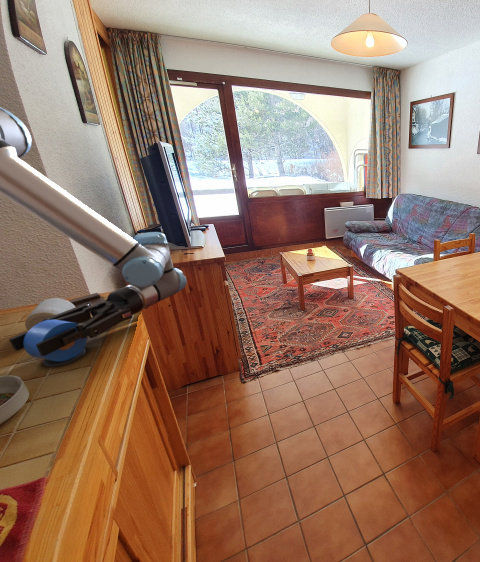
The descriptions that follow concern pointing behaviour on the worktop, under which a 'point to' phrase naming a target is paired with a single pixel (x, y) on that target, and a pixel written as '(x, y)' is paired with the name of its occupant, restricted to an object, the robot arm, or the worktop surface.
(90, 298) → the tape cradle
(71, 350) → the tape roll
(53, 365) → the coaster
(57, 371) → the worktop surface
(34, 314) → the ceramic mug
